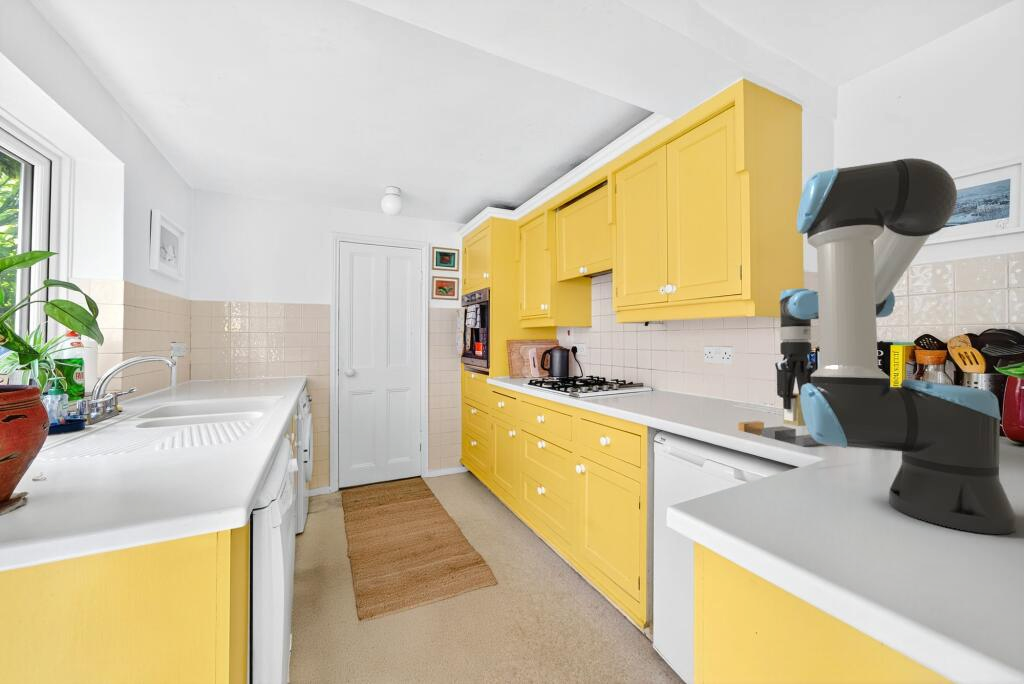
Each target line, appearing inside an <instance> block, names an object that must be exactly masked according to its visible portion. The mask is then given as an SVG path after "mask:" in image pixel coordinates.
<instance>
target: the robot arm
mask: <svg viewBox="0 0 1024 684" xmlns="http://www.w3.org/2000/svg"><path fill="white" fill-rule="evenodd" d="M957 199H958V191H957V187H956V183H955V180H954V179H953V178H952V176H951V174H950V173H949V172H948V171H947V170H946V169H945V168H944V167H942V166H941V165H939V164H938V163H935V162H933V161H930V160H926V159H923V158H913V157H912V158H911V157H909V158H902V159H901V158H900V159H896V160H891V161H884V162H876V163H871V164H870V163H869V164H863V165H856V166H855V165H854V166H849V167H841V168H840V167H836V168H835V169H829V170H824V171H819V172H816V173H814V174H811V176H810V177H808V179H807V181H806V182H805V184H804V187H803V190H802V193H801V197H800V200H799V205H798V209H797V218H796V231H797V233H799V234H802V235H806V234H807V236H806V237H807V244H809V245H810V246H811V247H813V248H815V249H816V258H817V259H816V261H817V262H816V263H817V269H816V270H817V291H814V290H810V289H808V288H789V289H785V290H782V291H781V292H780V300H779V307H780V308H779V310H780V311H779V313H780V328H779V330H780V332H779V339H780V341H782V342H781V343H780V354H781V355H783V358H782V361H780V362H775V363H774V364H775V369H776V392H777V393H776V396H779V398H782V408H784V420H789V421H795V399H792V396H793V393H794V390H795V384H797V385H796V386H797V390H798V393H800V394H801V396H800V399H801V407H802V413H803V417H804V421H805V424H806V426H805V427H806V429H807V431H808V433H809V435H811V437H812V438H813V439H814V440H815V441H817V442H818V443H821V444H824V445H827V446H833V447H834V446H835V447H840V448H842V449H843V448H845V449H846V448H858V449H867V450H868V449H869V450H880V451H891V452H893V451H895V452H901V464H900V466H899V469H898V471H897V473H896V475H895V477H894V479H893V481H892V483H891V486H890V488H889V489H888V490H889V491H888V503H889V505H890V506H891V507H892V508H894V510H897V511H899V513H902V514H905V515H907V516H909V515H910V516H909V517H912V518H915V519H917V518H918V520H920V519H921V520H920V521H923V520H924V522H927V521H928V522H927V523H930V522H931V523H930V524H934V523H935V524H934V525H937V524H939V525H938V526H941V525H943V526H942V527H945V526H947V527H946V528H950V527H951V528H950V529H954V528H956V529H955V530H959V529H960V530H961V531H965V530H966V532H971V531H972V532H973V533H980V534H991V535H995V534H996V535H1005V534H1011V533H1014V532H1015V531H1016V530H1017V517H1016V513H1015V510H1014V507H1013V506H1012V504H1011V502H1010V500H1009V497H1008V495H1007V493H1006V491H1005V490H1004V487H1003V485H1002V482H1001V480H1000V427H1001V425H1000V424H1001V423H1000V421H1001V420H1002V417H1001V414H1000V413H1001V412H1000V406H999V399H998V398H997V395H995V394H994V393H993V392H991V391H990V390H986V389H982V388H976V387H972V386H971V387H969V386H965V385H964V386H963V385H956V384H949V383H941V382H934V381H926V380H918V379H908V378H907V379H906V378H905V379H902V381H901V382H900V385H899V386H898V387H897V386H891V383H890V376H889V375H888V374H886V373H885V372H884V371H883V370H881V369H880V367H879V364H878V363H879V362H878V336H877V335H878V334H877V329H878V328H877V318H887V317H889V316H890V315H891V314H892V313H893V312H894V308H895V305H896V298H895V294H894V292H893V290H894V288H895V287H896V285H897V284H898V282H899V281H900V280H901V278H902V277H903V275H904V274H905V272H906V271H907V269H908V268H909V267H910V265H911V264H912V262H913V260H914V259H915V257H917V254H918V253H919V252H920V250H921V249H922V247H923V246H924V245H925V243H926V241H927V240H928V239H929V237H930V236H932V235H935V234H936V233H938V232H940V231H941V230H942V229H943V228H944V227H945V225H946V224H947V223H948V222H949V220H950V218H951V217H952V216H953V213H954V211H955V209H956V206H957ZM812 320H818V337H819V338H818V340H819V341H818V342H819V367H818V368H817V369H816V366H817V363H816V362H811V361H810V360H809V356H810V355H811V354H812V342H810V341H811V340H812ZM808 355H809V356H808Z"/></svg>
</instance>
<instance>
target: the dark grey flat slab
mask: <svg viewBox="0 0 1024 684" xmlns="http://www.w3.org/2000/svg"><path fill="white" fill-rule="evenodd" d="M737 426H738V428H737V430H738V431H740V432H744V433H748V434H752V435H756V436H760V437H763V438H767V439H771V440H775V441H778V442H783V443H787V444H792V445H795V446H798V447H802V448H803V447H804V448H807V447H815V446H822V445H823V446H824V445H825V444H821V443H818V442H817V441H815V440H814V439H813V438H812V437H811V435H810V434H804V435H796V434H797V431H796V430H797V429H796V428H792V427H787V426H783V425H779V426H772V427H771V426H770V427H765V422H764V421H760V420H755V421H753V420H752V421H741V422H738V425H737Z"/></svg>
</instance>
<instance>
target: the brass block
mask: <svg viewBox="0 0 1024 684" xmlns="http://www.w3.org/2000/svg"><path fill="white" fill-rule="evenodd" d="M800 396H801V394H800V393H799V392H793V396H792V399H795V421H789V420H784V408H783V407H782V408H783V409H782V410H783V411H782V413H783V414H782V420H783V422H782V423H783V424H786V425H791V426H794V427H796V426H797V427H802V426H805V427H806V424H805V421H804V417H803V413H802V407H801V399H800Z"/></svg>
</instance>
